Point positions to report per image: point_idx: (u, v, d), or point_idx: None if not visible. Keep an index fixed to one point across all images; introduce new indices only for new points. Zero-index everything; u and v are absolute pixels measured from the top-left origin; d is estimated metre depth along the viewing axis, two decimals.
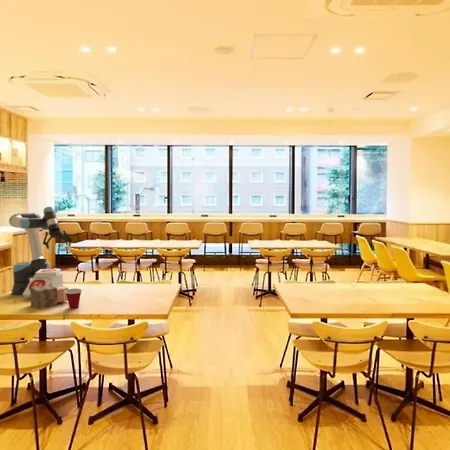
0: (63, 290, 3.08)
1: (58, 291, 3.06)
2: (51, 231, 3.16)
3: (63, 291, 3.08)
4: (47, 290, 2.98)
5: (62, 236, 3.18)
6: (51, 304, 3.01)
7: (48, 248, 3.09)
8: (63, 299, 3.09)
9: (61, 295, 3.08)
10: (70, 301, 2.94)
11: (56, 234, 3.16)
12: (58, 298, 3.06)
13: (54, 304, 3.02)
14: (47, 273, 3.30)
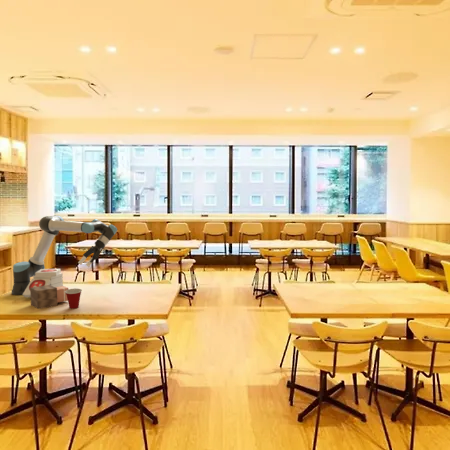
0: (63, 290, 3.08)
1: (58, 291, 3.06)
2: None
3: (63, 291, 3.08)
4: (47, 290, 2.98)
5: None
6: (51, 304, 3.01)
7: (90, 261, 3.18)
8: (63, 299, 3.09)
9: (61, 295, 3.08)
10: (70, 301, 2.94)
11: None
12: (58, 298, 3.06)
13: (54, 304, 3.02)
14: (47, 273, 3.30)
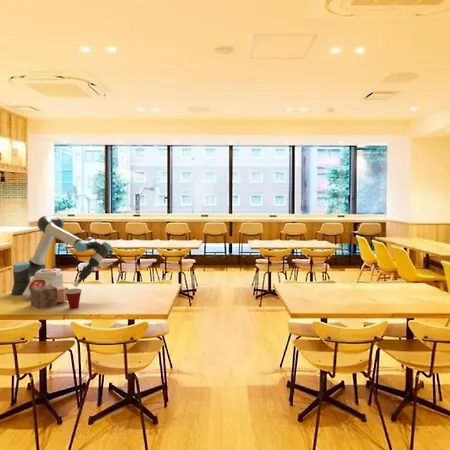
0: (63, 290, 3.08)
1: (58, 291, 3.06)
2: None
3: (63, 291, 3.08)
4: (47, 290, 2.98)
5: None
6: (51, 304, 3.01)
7: (78, 282, 3.19)
8: (63, 299, 3.09)
9: (61, 295, 3.08)
10: (70, 301, 2.94)
11: None
12: (58, 298, 3.06)
13: (54, 304, 3.02)
14: (47, 273, 3.30)
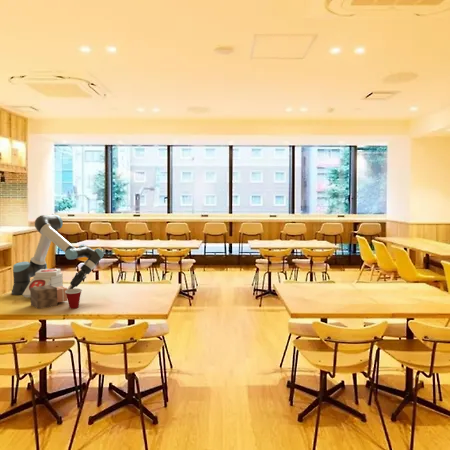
0: (62, 290, 3.08)
1: (57, 291, 3.05)
2: None
3: (62, 291, 3.08)
4: (47, 290, 2.98)
5: None
6: (51, 304, 3.01)
7: None
8: (62, 299, 3.08)
9: (60, 295, 3.07)
10: (70, 301, 2.94)
11: None
12: (57, 298, 3.06)
13: (54, 304, 3.02)
14: (47, 273, 3.30)
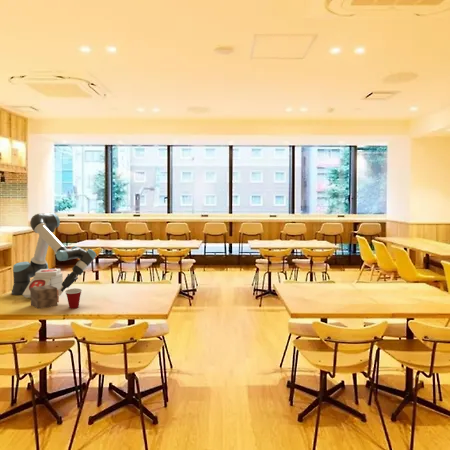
0: None
1: None
2: None
3: None
4: (47, 290, 2.98)
5: None
6: (51, 304, 3.01)
7: None
8: None
9: None
10: (70, 301, 2.94)
11: None
12: None
13: (54, 304, 3.02)
14: (47, 273, 3.30)
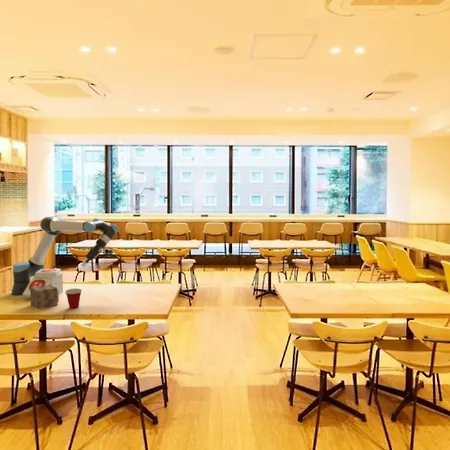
0: None
1: None
2: None
3: None
4: (47, 290, 2.98)
5: None
6: (51, 304, 3.01)
7: (85, 262, 3.22)
8: None
9: None
10: (70, 301, 2.94)
11: None
12: None
13: (54, 304, 3.02)
14: (47, 273, 3.30)
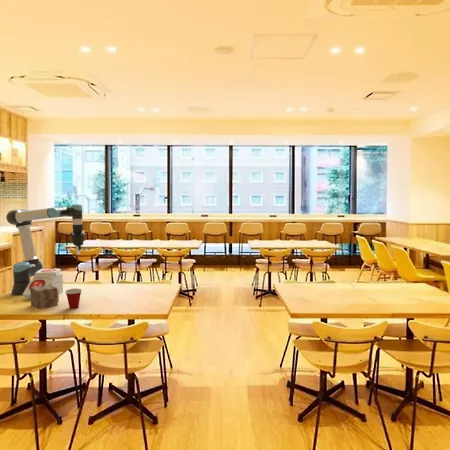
0: None
1: None
2: None
3: None
4: (47, 290, 2.98)
5: None
6: (51, 304, 3.01)
7: (78, 250, 3.44)
8: None
9: None
10: (70, 301, 2.94)
11: None
12: None
13: (54, 304, 3.02)
14: (47, 273, 3.30)
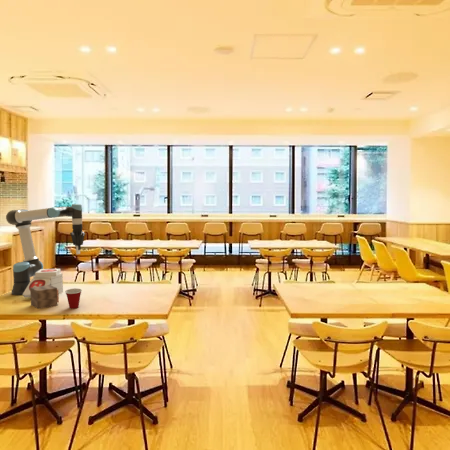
0: None
1: None
2: None
3: None
4: (47, 290, 2.98)
5: None
6: (51, 304, 3.01)
7: (78, 249, 3.44)
8: None
9: None
10: (70, 301, 2.94)
11: None
12: None
13: (54, 304, 3.02)
14: (47, 273, 3.30)
